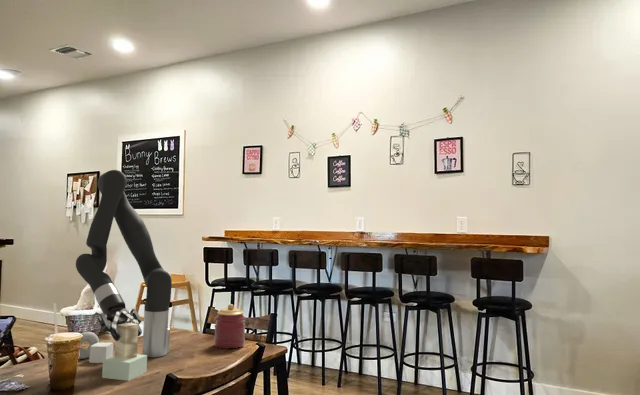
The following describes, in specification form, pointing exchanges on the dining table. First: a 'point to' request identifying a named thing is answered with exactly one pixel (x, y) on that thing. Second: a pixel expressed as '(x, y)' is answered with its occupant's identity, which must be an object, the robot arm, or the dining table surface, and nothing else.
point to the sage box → (124, 367)
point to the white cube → (100, 352)
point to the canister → (229, 328)
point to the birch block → (126, 341)
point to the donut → (92, 340)
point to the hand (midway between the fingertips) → (129, 337)
